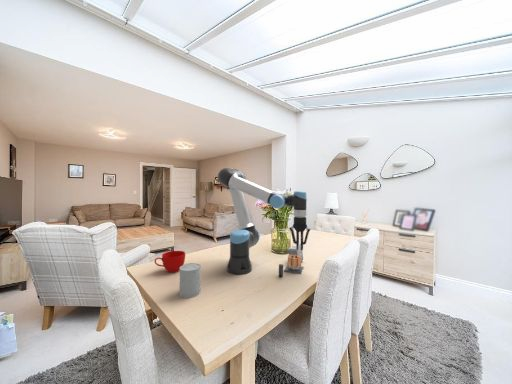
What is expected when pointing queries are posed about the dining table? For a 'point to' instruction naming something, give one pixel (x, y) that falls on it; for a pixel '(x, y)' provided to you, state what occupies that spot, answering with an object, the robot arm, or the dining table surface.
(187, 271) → the grey cylinder
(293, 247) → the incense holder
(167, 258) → the ceramic cup
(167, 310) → the dining table surface
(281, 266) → the stand rod
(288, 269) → the hub
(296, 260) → the collar
